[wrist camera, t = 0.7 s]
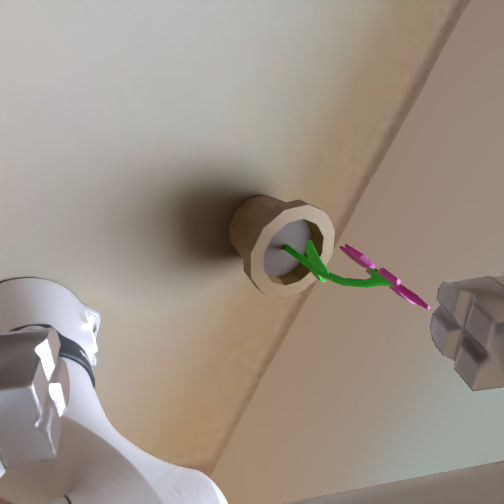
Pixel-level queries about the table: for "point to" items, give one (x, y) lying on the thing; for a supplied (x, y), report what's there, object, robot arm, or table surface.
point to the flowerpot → (296, 249)
